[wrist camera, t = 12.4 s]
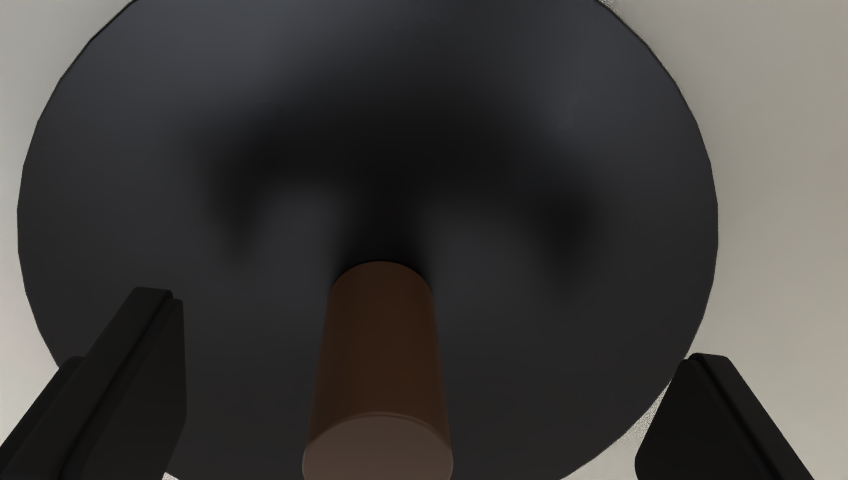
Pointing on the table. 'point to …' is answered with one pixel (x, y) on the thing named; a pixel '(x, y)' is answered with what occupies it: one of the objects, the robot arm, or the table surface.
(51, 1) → the table surface
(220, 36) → the lid
